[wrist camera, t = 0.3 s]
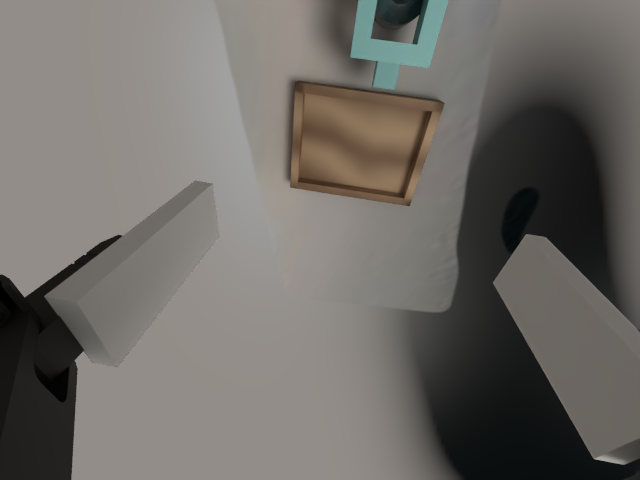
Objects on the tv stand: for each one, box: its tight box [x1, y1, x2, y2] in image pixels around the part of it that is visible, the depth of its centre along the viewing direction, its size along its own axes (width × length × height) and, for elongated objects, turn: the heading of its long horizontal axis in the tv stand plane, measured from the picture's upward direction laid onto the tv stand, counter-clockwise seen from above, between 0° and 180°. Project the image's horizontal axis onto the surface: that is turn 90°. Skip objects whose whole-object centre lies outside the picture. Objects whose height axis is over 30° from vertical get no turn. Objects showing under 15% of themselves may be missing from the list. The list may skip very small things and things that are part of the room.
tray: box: [290, 81, 445, 206], centre depth 35 cm, size 13×17×2 cm
